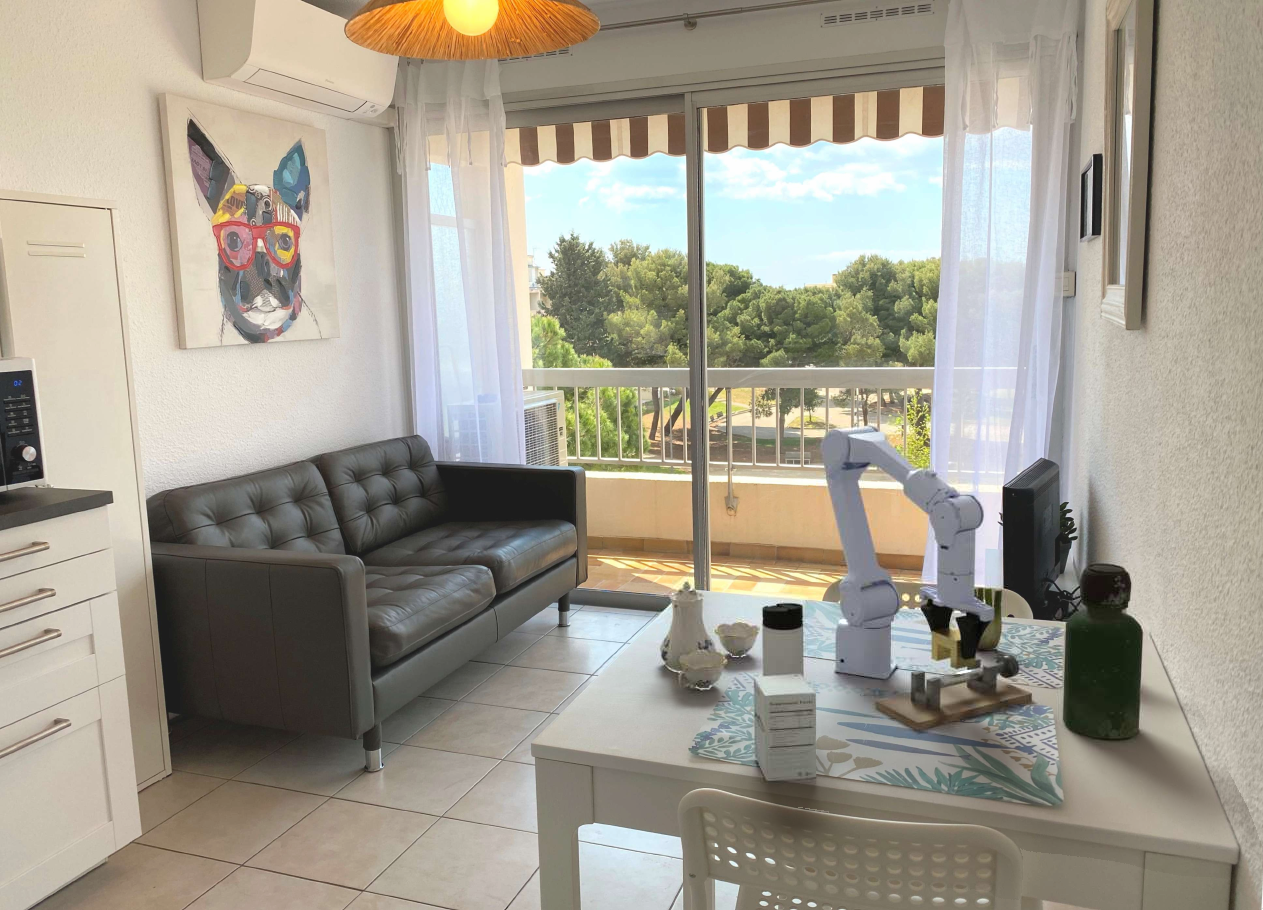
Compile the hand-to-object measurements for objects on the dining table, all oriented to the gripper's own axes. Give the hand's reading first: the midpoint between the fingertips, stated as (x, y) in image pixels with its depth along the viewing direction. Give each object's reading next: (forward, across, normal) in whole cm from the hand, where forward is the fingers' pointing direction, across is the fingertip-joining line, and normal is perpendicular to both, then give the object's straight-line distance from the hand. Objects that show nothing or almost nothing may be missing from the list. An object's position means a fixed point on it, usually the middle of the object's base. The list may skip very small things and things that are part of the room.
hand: (954, 652), depth 155 cm
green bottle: (+9, +17, +13) cm, 23 cm away
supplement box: (+9, +6, -37) cm, 38 cm away
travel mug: (+9, -6, -29) cm, 31 cm away
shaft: (+6, 0, +5) cm, 8 cm away
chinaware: (+9, -35, -27) cm, 45 cm away
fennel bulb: (+9, -17, +24) cm, 31 cm away
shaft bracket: (+9, 0, 0) cm, 9 cm away
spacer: (+2, 0, 0) cm, 2 cm away
